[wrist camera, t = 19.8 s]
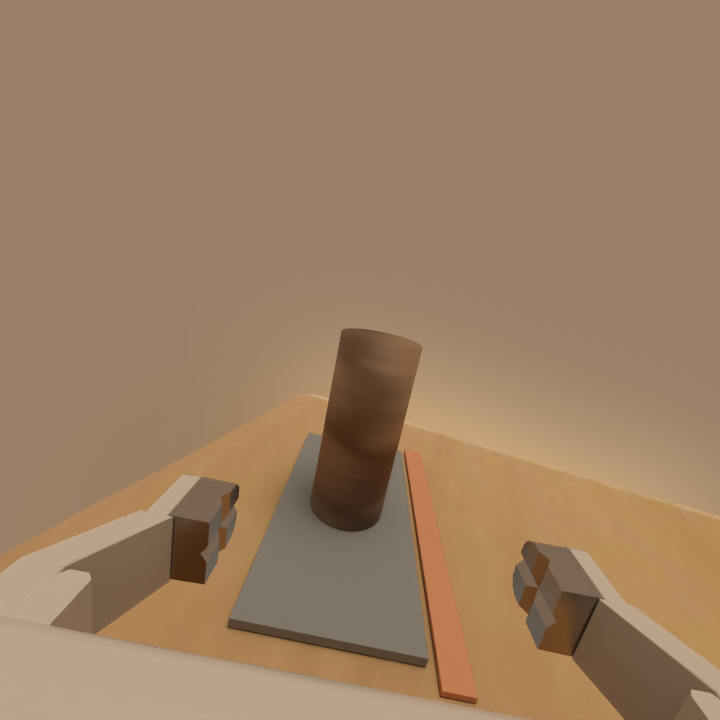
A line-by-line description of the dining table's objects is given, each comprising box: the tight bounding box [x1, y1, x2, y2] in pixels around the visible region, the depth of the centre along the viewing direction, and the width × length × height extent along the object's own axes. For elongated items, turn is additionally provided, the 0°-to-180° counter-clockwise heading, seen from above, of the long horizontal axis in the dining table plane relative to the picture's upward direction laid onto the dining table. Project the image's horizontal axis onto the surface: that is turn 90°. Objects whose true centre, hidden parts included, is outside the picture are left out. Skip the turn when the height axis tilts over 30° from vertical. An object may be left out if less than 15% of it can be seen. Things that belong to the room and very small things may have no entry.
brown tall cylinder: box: [310, 329, 422, 532], centre depth 22 cm, size 5×5×12 cm
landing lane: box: [228, 433, 478, 703], centre depth 24 cm, size 11×20×1 cm, turn 177°
